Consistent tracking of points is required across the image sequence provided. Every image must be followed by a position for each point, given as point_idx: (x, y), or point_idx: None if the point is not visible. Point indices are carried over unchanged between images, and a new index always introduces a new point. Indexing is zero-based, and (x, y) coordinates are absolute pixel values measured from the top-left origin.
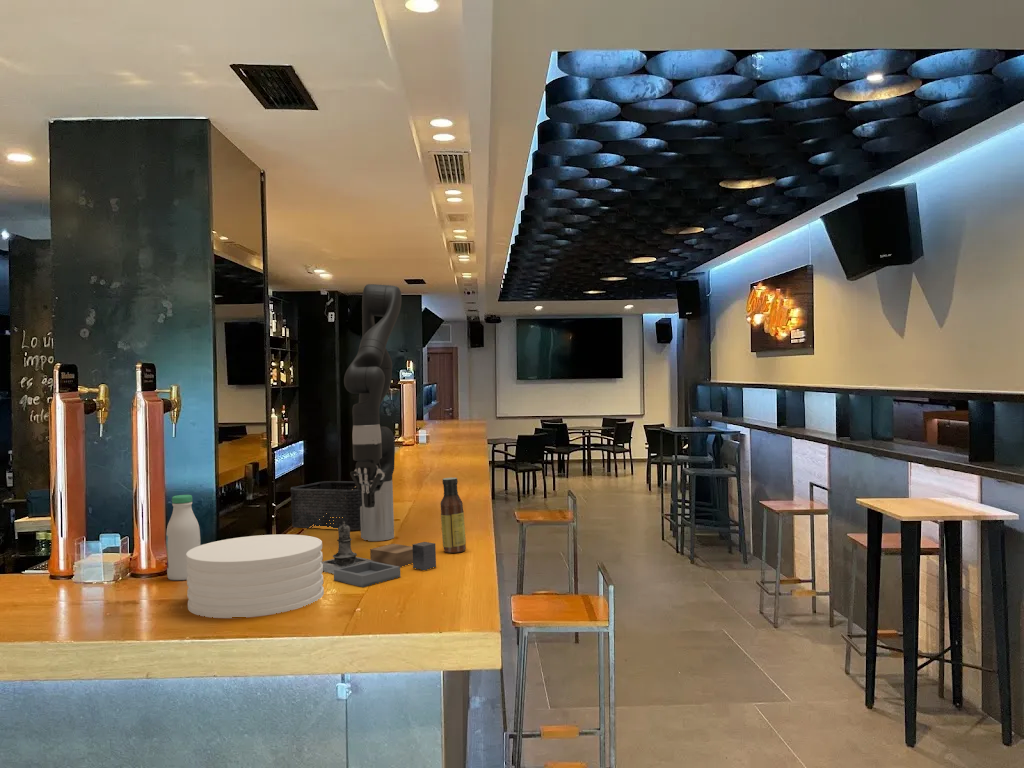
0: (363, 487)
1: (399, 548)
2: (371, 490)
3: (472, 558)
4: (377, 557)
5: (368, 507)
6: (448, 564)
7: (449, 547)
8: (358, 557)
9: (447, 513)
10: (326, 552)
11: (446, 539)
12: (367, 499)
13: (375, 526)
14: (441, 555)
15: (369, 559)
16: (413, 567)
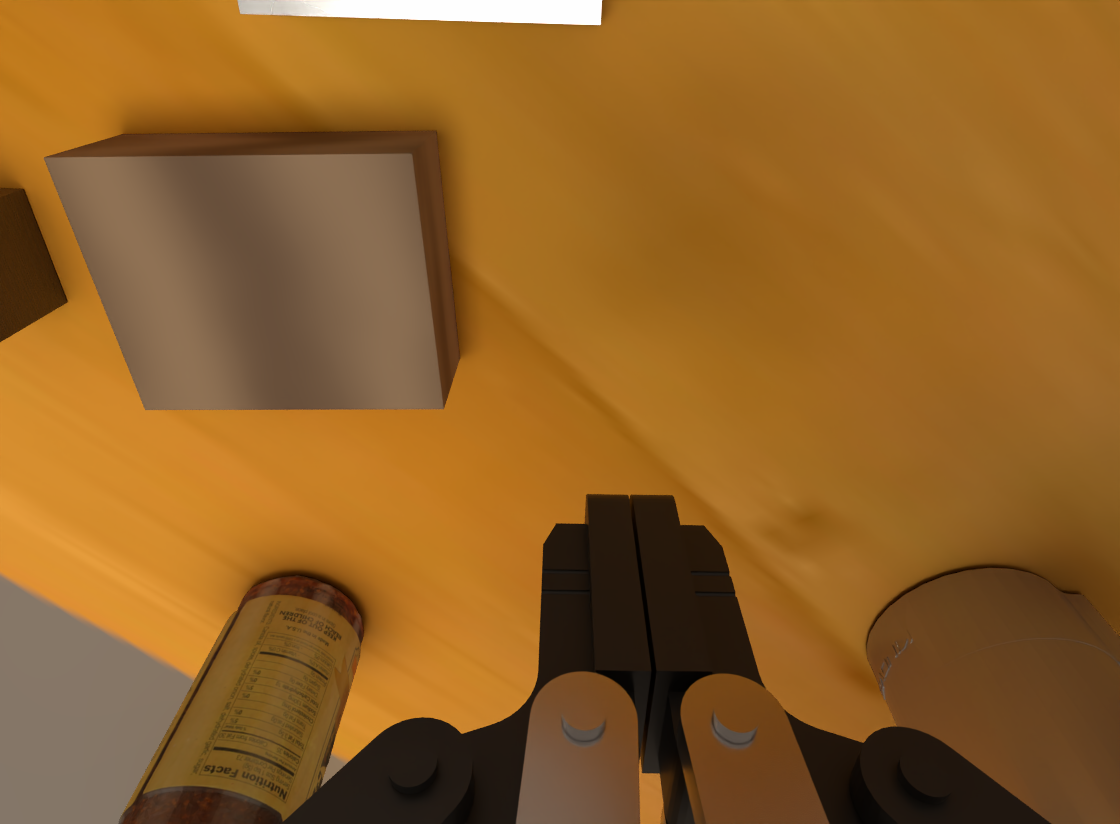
0: (743, 808)
1: (234, 312)
2: (426, 745)
3: (75, 554)
4: (333, 142)
5: (587, 495)
6: (10, 400)
7: (258, 597)
8: (440, 11)
9: (154, 806)
10: (1090, 201)
11: (257, 632)
12: (595, 581)
13: (971, 661)
14: (270, 527)
15: (279, 12)
16: (11, 191)
